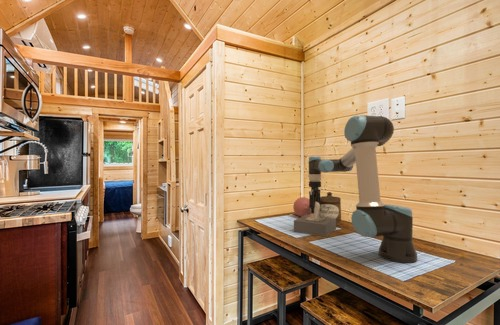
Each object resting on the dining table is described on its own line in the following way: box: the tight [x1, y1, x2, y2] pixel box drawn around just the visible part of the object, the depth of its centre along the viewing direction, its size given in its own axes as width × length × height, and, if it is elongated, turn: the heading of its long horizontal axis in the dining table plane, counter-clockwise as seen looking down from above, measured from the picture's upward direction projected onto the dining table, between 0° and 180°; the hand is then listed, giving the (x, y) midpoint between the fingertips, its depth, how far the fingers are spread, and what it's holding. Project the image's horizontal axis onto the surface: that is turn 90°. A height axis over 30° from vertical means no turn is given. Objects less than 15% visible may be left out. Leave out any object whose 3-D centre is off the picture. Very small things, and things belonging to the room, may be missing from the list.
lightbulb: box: [315, 201, 320, 219], centre depth 161 cm, size 6×6×11 cm
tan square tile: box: [304, 216, 326, 222], centre depth 161 cm, size 10×10×3 cm
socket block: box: [293, 214, 337, 238], centre depth 161 cm, size 20×20×7 cm
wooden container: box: [319, 191, 342, 227], centre depth 179 cm, size 15×15×22 cm
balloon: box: [292, 196, 311, 218], centre depth 198 cm, size 15×20×15 cm
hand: (315, 217), depth 161 cm, fingers closed on lightbulb, 6 cm apart
